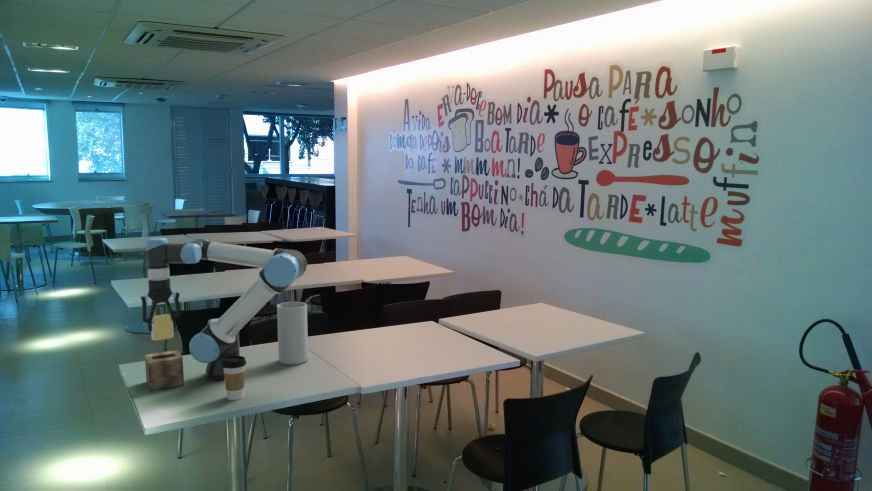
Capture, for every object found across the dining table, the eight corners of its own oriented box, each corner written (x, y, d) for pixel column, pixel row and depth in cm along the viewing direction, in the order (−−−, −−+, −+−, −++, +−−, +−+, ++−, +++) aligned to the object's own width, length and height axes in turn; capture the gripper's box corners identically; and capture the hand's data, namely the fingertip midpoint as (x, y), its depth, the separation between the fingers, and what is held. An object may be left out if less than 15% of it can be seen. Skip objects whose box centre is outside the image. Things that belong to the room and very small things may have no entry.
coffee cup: (226, 393, 225) (225, 354, 223) (249, 392, 226) (248, 354, 224) (220, 401, 217) (218, 361, 215) (244, 401, 217) (243, 361, 216)
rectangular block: (170, 336, 235) (169, 313, 234) (172, 338, 232) (170, 315, 231) (153, 338, 231) (152, 316, 230) (155, 340, 229) (153, 317, 228)
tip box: (179, 376, 244) (177, 350, 242) (184, 385, 233) (182, 358, 232) (146, 381, 237) (144, 354, 236) (150, 391, 227) (148, 363, 226)
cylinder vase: (314, 359, 265) (312, 304, 262) (293, 367, 255) (291, 309, 252) (293, 354, 272) (292, 300, 269) (272, 362, 262) (270, 305, 259)
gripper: (183, 274, 237) (186, 331, 240) (130, 279, 227) (134, 339, 230) (187, 277, 231) (191, 336, 234) (132, 282, 221) (137, 344, 224)
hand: (162, 337), depth 232 cm, fingers closed on rectangular block, 6 cm apart
